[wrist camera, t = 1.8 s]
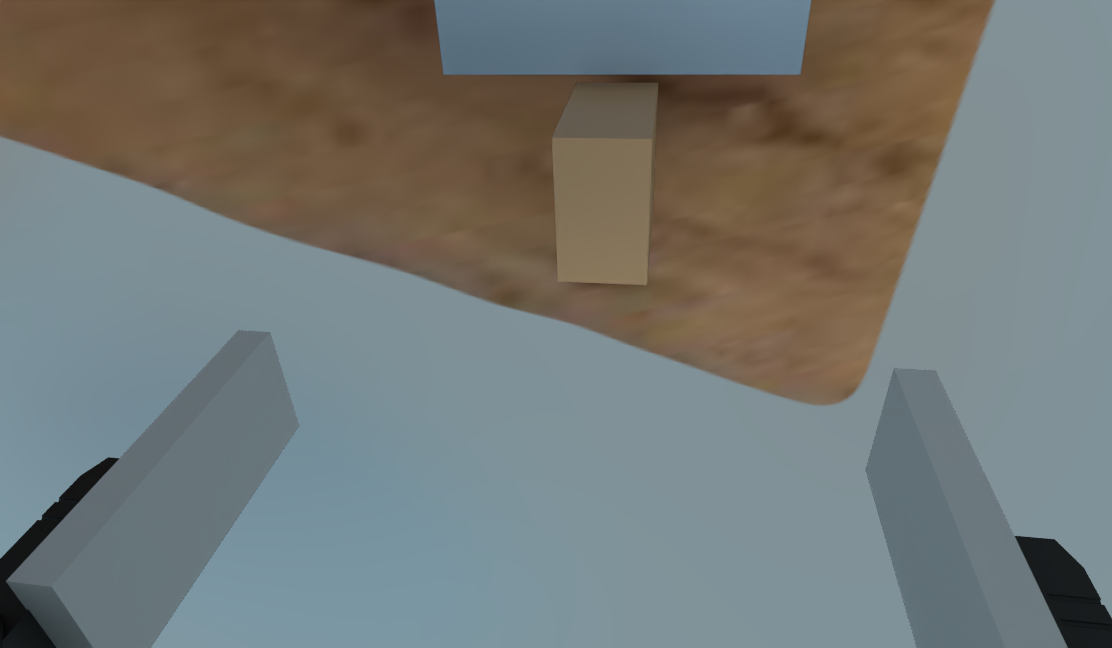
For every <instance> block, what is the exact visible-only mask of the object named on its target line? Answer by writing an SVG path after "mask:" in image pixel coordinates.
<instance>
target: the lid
mask: <svg viewBox="0 0 1112 648" xmlns="http://www.w3.org/2000/svg"><path fill="white" fill-rule="evenodd" d="M434 2H435V10H436V18H437V26H438V34H439V42H440V50H441V58H442V66H443V75H679V74H800V73H801V66H802V59H803V52H804V46H805V39H806V32H807V25H808V18H809V12H810V5H811V0H434ZM657 104H658V83H576V85H575V87H574V89H573V92H572V94H571V96H570V98H569V101H568V103H567V105H566V107H565V109H564V112H563V114H562V116H561V118H560V121H559V123H558V125H557V127H556V130H555V132H554V134H553V136H552V152H553V175H554V199H555V222H556V245H557V268H558V281H561V282H586V283H610V284H634V285H647V279H648V267H649V255H650V243H651V231H652V219H653V204H654V179H655V154H656V129H657Z"/></svg>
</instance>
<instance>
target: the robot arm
mask: <svg viewBox="0 0 1112 648" xmlns="http://www.w3.org/2000/svg"><path fill="white" fill-rule="evenodd" d="M298 427H299V423H298V420H297V417H296V414H295V411H294V407H293V404H292V401H291V398H290V395H289V391H288V388H287V385H286V382H285V378H284V375H283V372H282V369H281V366H280V362H279V359H278V356H277V353H276V350H275V346H274V344H273V340H272V337H271V334H270V332H257V331H237V332H236V333H235V334H234V336H233V337H232V338H231V339H230V340H229V341H228V342H227V343H226V344H225V345H224V346H223V347H222V349H221V350H220V351H219V352H218V353H217V354H216V355H215V356H214V357H213V358H212V359H211V360H210V362H209V363H208V364H207V365H206V366H205V367H204V368H203V369H202V370H201V371H200V372H199V373H198V375H196V377H195V378H194V379H193V380H192V381H191V382H190V383H189V384H188V385H187V386H186V387H185V389H183V391H182V392H181V393H180V394H179V395H178V396H177V397H176V398H175V399H174V400H173V401H172V402H171V404H170V405H169V406H168V407H167V408H166V409H165V410H164V411H163V412H162V413H161V414H160V416H159V417H158V418H157V419H156V420H155V421H154V422H153V423H152V424H151V425H150V426H149V427H148V428H147V429H146V431H145V432H144V433H143V434H142V435H141V436H140V437H139V438H138V439H137V440H136V441H135V442H134V444H133V445H132V446H131V447H130V448H129V449H128V450H127V451H126V452H125V453H124V454H123V456H121V458H107V459H105V460H104V461H102V462H101V463H100V464H98V465H96V466H95V467H93V468H92V469H90V470H89V471H87V472H86V473H84V474H82V475H81V476H80V477H79V478H78V479H77V480H76V481H75V482H74V483H73V484H72V485H71V486H70V487H69V488H68V489H67V490H66V491H65V492H64V493H63V494H62V495H61V496H60V497H59V502H55V503H54V504H53V505H52V506H51V507H50V508H49V509H48V510H47V511H46V512H45V513H44V514H43V515H42V520H37V521H36V522H35V524H34V525H33V526H32V527H31V528H30V529H29V530H28V531H27V532H26V533H25V534H24V535H23V536H22V537H21V538H20V539H19V540H18V541H17V542H16V543H15V544H14V545H13V546H12V547H11V549H9V550H8V551H7V552H6V554H5V555H4V556H3V557H2V558H1V559H0V648H151V647H152V645H153V644H154V642H155V641H156V639H157V638H158V636H159V635H160V633H161V632H162V630H163V629H164V627H165V626H166V624H167V623H168V621H169V620H170V618H171V617H172V615H173V614H174V612H175V611H176V609H177V608H178V606H179V605H180V603H181V602H182V601H183V599H184V597H185V596H186V595H187V593H188V592H189V590H190V589H191V587H192V586H193V584H194V583H195V581H196V579H197V578H198V577H199V575H200V574H201V572H202V570H203V569H204V567H205V566H206V565H207V563H208V562H209V560H210V559H211V557H212V555H213V554H214V552H215V551H216V550H217V548H218V547H219V545H220V544H221V542H222V541H223V539H224V538H225V536H226V535H227V533H228V532H229V530H230V529H231V527H232V526H233V524H234V523H235V521H236V520H237V518H238V517H239V515H240V514H241V512H242V511H243V509H244V508H245V506H246V505H247V503H248V502H249V500H250V499H251V497H252V496H253V494H254V493H255V491H256V490H257V488H258V487H259V485H260V484H261V482H262V481H263V479H264V478H265V476H266V475H267V473H268V472H269V470H270V469H271V467H272V466H273V464H274V463H275V461H276V460H277V458H278V457H279V455H280V454H281V452H282V450H283V449H284V448H285V446H286V445H287V443H288V442H289V440H290V439H291V438H292V436H293V435H294V433H295V432H296V430H297V428H298ZM866 473H867V477H868V480H869V484H870V487H871V491H872V494H873V498H874V501H875V504H876V508H877V511H878V515H879V518H880V522H881V525H882V529H883V532H884V536H885V539H886V543H887V546H888V550H889V553H890V556H891V560H892V564H893V567H894V570H895V574H896V577H897V581H898V584H899V588H900V591H901V595H902V598H903V602H904V605H905V609H906V612H907V616H908V619H909V622H910V626H911V630H912V633H913V637H914V640H915V644H916V647H917V648H1112V619H1111V617H1110V615H1109V613H1108V611H1107V610H1106V607H1105V606H1104V605H1101V602H1100V600H1101V599H1100V597H1099V595H1098V593H1097V591H1096V589H1095V588H1094V586H1093V584H1092V582H1091V580H1090V578H1089V577H1088V575H1087V573H1086V571H1085V569H1084V568H1083V567H1082V566H1081V565H1080V564H1079V563H1078V562H1077V561H1076V560H1075V559H1074V558H1073V557H1072V556H1071V555H1070V554H1069V553H1068V552H1067V551H1066V550H1065V549H1064V548H1063V547H1062V546H1061V545H1060V544H1059V543H1058V542H1057V541H1056V540H1054V539H1043V538H1032V537H1021V536H1014V534H1013V532H1012V530H1011V528H1010V526H1009V524H1008V521H1007V519H1006V518H1005V515H1004V513H1003V511H1002V509H1001V507H1000V505H999V502H998V500H997V498H996V496H995V494H994V492H993V490H992V488H991V486H990V484H989V482H988V479H987V477H986V475H985V473H984V471H983V469H982V467H981V465H980V463H979V460H978V458H977V456H976V454H975V452H974V450H973V448H972V446H971V444H970V442H969V440H968V437H967V435H966V433H965V431H964V429H963V427H962V425H961V423H960V421H959V419H958V416H957V414H956V412H955V410H954V408H953V406H952V404H951V402H950V400H949V397H948V396H947V393H946V391H945V389H944V387H943V385H942V383H941V381H940V379H939V376H938V374H937V372H936V371H932V370H914V369H898V368H894V370H893V374H892V377H891V381H890V385H889V388H888V392H887V395H886V399H885V402H884V406H883V410H882V413H881V417H880V420H879V424H878V427H877V431H876V435H875V438H874V442H873V445H872V449H871V452H870V456H869V459H868V463H867V467H866Z"/></svg>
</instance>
